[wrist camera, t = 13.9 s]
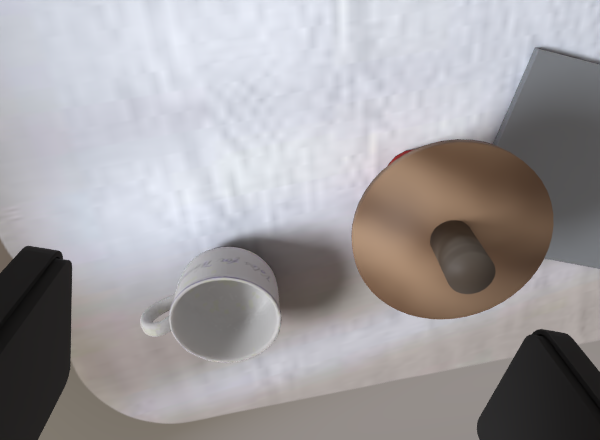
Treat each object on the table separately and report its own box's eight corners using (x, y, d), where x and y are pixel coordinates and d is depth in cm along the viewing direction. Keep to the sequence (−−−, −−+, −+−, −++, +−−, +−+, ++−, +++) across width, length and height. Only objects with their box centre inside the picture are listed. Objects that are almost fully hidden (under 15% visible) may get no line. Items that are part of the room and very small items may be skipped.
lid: (383, 118, 33) (397, 142, 28) (583, 164, 34) (633, 196, 29) (330, 292, 40) (333, 339, 34) (500, 327, 41) (529, 377, 35)
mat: (535, 47, 42) (539, 48, 42) (723, 96, 45) (730, 98, 45) (452, 238, 51) (455, 241, 51) (614, 268, 54) (619, 272, 53)
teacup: (281, 235, 50) (283, 278, 43) (279, 316, 55) (279, 367, 48) (147, 232, 49) (126, 276, 42) (157, 315, 54) (139, 367, 47)
